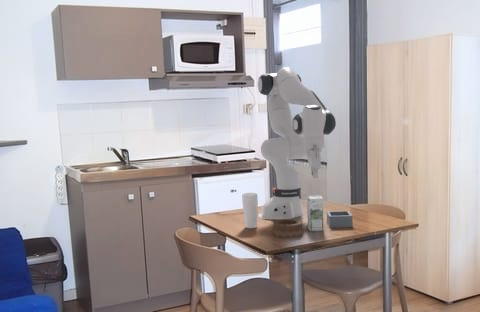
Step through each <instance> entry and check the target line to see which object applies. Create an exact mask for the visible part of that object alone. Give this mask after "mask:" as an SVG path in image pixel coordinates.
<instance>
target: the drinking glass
mask: <svg viewBox="0 0 480 312" xmlns="http://www.w3.org/2000/svg"><path fill="white" fill-rule="evenodd" d="M241 198H242V201H241V202H242V210H243V218H244V219H243V220H244V224H245V225H244V227H245V228H246V229H256V228H257V227H258V208H259V207H258V203H259V202H258V201H259V199H258V193H256V192H245V193H242V197H241Z"/></svg>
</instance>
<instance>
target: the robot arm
mask: <svg viewBox="0 0 480 312" xmlns="http://www.w3.org/2000/svg"><path fill="white" fill-rule="evenodd" d="M257 89H258V92H259V93H260V94H261V95H263V96H269V97H268V99H267V112H268V118H269V121H270V122H269V123H270V127H271V130H272V131H273V133H275V134H277V135H278V136H281V137H272V138H271V137H270V138H268V139H264V141H263V142H262V143H261V146H260V153H261V155H262V157H263V159H265V160H266V161H267V162H269V163H270V164H271V165H272V167H273V169H274V171H275V175H276V176H275V177H276V187H272V188H271V191H272V194H273V195H272V197H270V198H269V199H268V200H267V201H265V202H264V204H263V206H262V210H261V212H259V213H257V218H258V219H261V220H281V219H295V218H297V217H301V216H305V213H304V211H303V206H302V188H301V186H300V185H301V184H300V183H301V181H300V178H301V177H300V171H298V169H297V168H295V167H294V166H290V165H289V164H288V161H289V160H301V159H305V158H306V159H307V163H308V164H309V166H310V171H311V175H312V177H313V179H318V177H319V176H318V175H319V170H320V169H321V168H322V161H321V160H322V159H321V158H322V157H321V153H322V152H323V151H322V149H325V135H330V134H331V133H332V132H333V131H334V130H335V128H336V124H337V123H336V119H335V116H334V114H333V113H332V112H331V111H330V110H328V109H327V107H326V106H325V105H324V104H323V102H322V100H320V98H319V97H318V96H317V94H316V93H315V92H314V91H313V90H311V89H309V88H308V87H306V86H305V85H304V84H303V82H302V78H301V76H300V75H299V74H298V73H296V72H295V70H293V69H292V68H291V67H282V68H281V69H279V70H278V71H277V72H274V73H263V74H261V75H260V76H259V77H258V81H257ZM290 104H291V105H300V106H303V108H302V111H301V112H300V113H297V114H295V116H294V117H292V112H291V108H290V107H291V106H290Z"/></svg>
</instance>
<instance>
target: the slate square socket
mask: <svg viewBox="0 0 480 312" xmlns="http://www.w3.org/2000/svg"><path fill="white" fill-rule="evenodd" d="M326 223H327V224H328V227H329V228H332V229H334V228H335V229H336V228H337V229H338V228H353V227H354V226H353V225H354V224H353V223H354V222H353V215H352V212H350V210H331V211H329V210H328V211H326Z"/></svg>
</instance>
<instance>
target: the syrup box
mask: <svg viewBox="0 0 480 312" xmlns="http://www.w3.org/2000/svg"><path fill="white" fill-rule="evenodd" d="M306 207H307V208H306V209H307V210H306V211H307V229H308V230H309V231H310V233H311V232H313V233H314V232H324V198H323V197H322V196H321V195H307V196H306Z"/></svg>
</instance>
